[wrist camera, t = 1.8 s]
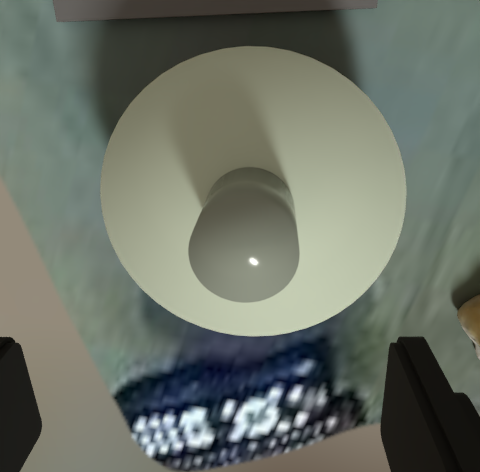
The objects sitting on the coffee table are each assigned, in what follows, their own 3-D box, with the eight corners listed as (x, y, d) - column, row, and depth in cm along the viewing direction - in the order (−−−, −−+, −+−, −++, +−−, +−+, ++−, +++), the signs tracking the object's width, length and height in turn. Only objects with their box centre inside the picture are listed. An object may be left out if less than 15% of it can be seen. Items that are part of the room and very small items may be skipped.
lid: (418, 39, 20) (472, 40, 14) (386, 327, 26) (416, 405, 20) (84, 52, 21) (17, 57, 16) (127, 324, 27) (90, 397, 22)
